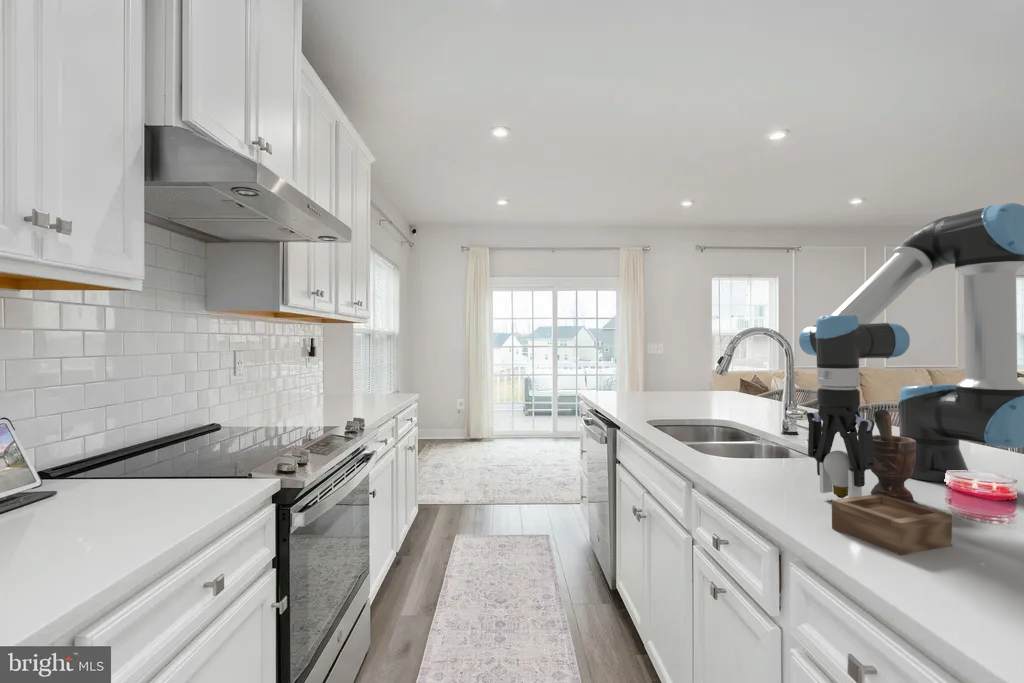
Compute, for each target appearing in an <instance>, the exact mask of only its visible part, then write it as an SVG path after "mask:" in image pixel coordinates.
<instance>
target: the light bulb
mask: <svg viewBox="0 0 1024 683" xmlns="http://www.w3.org/2000/svg"><path fill="white" fill-rule="evenodd" d="M824 468H825V470H826V471H827V473H828V474H829V476H830V478H831V482H832V487H833V492H832V493H833V494H834V495H835V496H836V497H837V498H839V499H844V498H847V497H849V492H848V470H850V469H851V468H852V467H851V464H850V460H849V457H848V453H847V451H843V450H833V451H832V450H831V451H830V453H829V454H827V455H826V457H825V459H824Z"/></svg>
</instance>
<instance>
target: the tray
mask: <svg viewBox="0 0 1024 683" xmlns="http://www.w3.org/2000/svg"><path fill="white" fill-rule="evenodd" d="M952 516H953V515H952V514H950V513H946V512H943V511H940V510H937V509H932V508H930V507H926V506H923V505H919V504H916V503H913V502H906V501H902V500H899V499H896V498H892V497H889V496H885V495H882V494H873V495H871V494H867V495H862V496H859V497H851V498H849V497H844V498H839V499H832V500H831V529H833V530H835V531H838V532H839V533H843V534H844V535H845V534H846V535H848V536H850V537H853V538H856V539H858V540H860V541H863V542H866V543H868V544H871V545H873V546H875V547H877V548H878V547H879V548H880V549H883V550H886V551H888V552H891V553H893V554H896V555H899V556H905V555H910V554H917V553H921V552H927V551H931V550H936V548H937V549H941V548H942V547H943V548H947V547H951V546H953V532H952V531H953V523H952V520H953V517H952Z"/></svg>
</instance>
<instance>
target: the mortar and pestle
mask: <svg viewBox="0 0 1024 683" xmlns="http://www.w3.org/2000/svg"><path fill="white" fill-rule="evenodd" d="M873 418H874V423H875V425H876V427H877V429H878V432H879V434H873V447H874V460H875V468H874V469H870V471H871V472H872V474H874V475H875V476H876V477H877V479H878V480H877V481H878V482H877V483H876V484H875V485H874V486H873V488H872V489H871V491H870V495H873V494H882V495H885V496H889V497H892V498H896V499H899V500H902V501H906V502H909V503H912V502H913V501H914V496H913V493H912V492H911V491H910V490H909V489H907V487H906V486H905V482H906V481H908V479H910V478H911V475H912V473H913V471H914V467H915V461H916V441H915V440H914V439H912V438H909V437H901V436H900V435H893V430H892V429H893V428H892V427H893V426H892V425H893V424H892V417H891V414H890V412H889V411H888V410H886V409H877V410H876V411H874V413H873Z"/></svg>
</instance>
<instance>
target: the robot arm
mask: <svg viewBox="0 0 1024 683" xmlns="http://www.w3.org/2000/svg"><path fill="white" fill-rule="evenodd" d="M952 264H954V270H955V271H957V272H958V273H959V274H961V275H962V276H963V312H964V313H963V316H964V317H963V320H964V322H963V323H964V324H963V326H964V327H963V329H964V331H963V332H964V338H963V339H964V342H963V343H964V378H963V379H962V380H961V381H959V382H957V383H956V384H933V385H930V384H929V385H907V386H904V387H902V388H901V389H900V390H899V397H898V398H899V400H898V416H899V417H898V422H899V423H898V425H899V426H898V427H899V436H901V437H909V438H912V439H914V440H915V441H916V461H915V467H914V471H913V473H912V475H911V477H910V478H911V479H915V480H916V479H917V480H921V481H922V480H923V481H929V482H936V483H945V482H944V479H945V473H946V471H947V470H969V468H968V466H967V464H966V461H965V459H964V457H963V454H962V452H961V449H960V441H966V442H971V443H972V442H973V443H977V444H982V445H988V446H991V447H994V448H997V447H999V448H1007V449H1008V448H1009V449H1019V448H1022V447H1024V384H1023V382H1020V381H1019V379H1018V333H1017V332H1018V331H1017V329H1018V321H1017V320H1018V318H1017V315H1018V313H1017V305H1018V304H1017V272H1018V271H1019V270H1020V269H1021V268H1022V267H1024V205H1022V204H1020V203H1016V202H1008V203H1002V204H996V205H995V204H994V205H988V206H986V207H982V208H978V209H973V210H970V211H965V212H962V213H958V214H953V215H949V216H948V215H947V216H943V217H940V218H937V219H935V220H933V221H931V222H929V223H927V224H925V225H923V226H922V227H921V228H919V229H917V230H916V231H915V232H913V233H912V234H910V235H909V236H908V237H907V238H905V239H904V240H902V241H901V243H899V244H898V245H897V246H896V247H895V248H894V249H893V250H892V251H891V252H890V253H889V255H888V260H887V261H886V262H885V263H884V264H883V265H882V266H881V267H880V268H879V269H877V271H876V272H875V273H873V275H872V276H871V277H869V278H868V279H867V280H866V281H865V282H864V283H863V284H862V285H860V287H859V288H857V290H855V291H854V293H852V294H851V295H850V296H849V297H848V298H847V299H846V300H845V301H844V302H842V303H841V305H840V306H839V307H837V308H836V309H835V311H834V312H832V313H831V314H830V315H821V316H819V317H817V319H816V322H815V323H816V324H815V325H812V326H811V325H810V326H807V327H805V328H804V329H802V330H801V332H800V334H799V337H798V343H799V346H800V348H801V350H802V351H803V352H804V353H805V354H807V355H809V356H816V380H817V381H816V382H817V383H816V385H817V386H819V387H818V389H817V390H816V392H817V393H816V394H817V396H816V397H817V401H816V402H817V404H818V406H819V408H818V411H814V412H812V411H811V412H807V413H806V418H807V422H808V432H807V433H808V434H807V435H808V436H807V437H808V438H807V454H808V457H810V458H813V459H815V461H816V468H817V469H816V474H817V476H819V492H820V493H822V494H826V493H827V494H828V493H834V492H833V484H832V482H831V478H830V476H829V474H828V473H827V471H826V470H825V468H824V459H825V457H826V455H827V454H829V453H830V452H832V447H833V443H834V440H835V437H836V434H837V433H839V435H840V438H842V440H843V443H844V446H845V449H846V452H847V453H848V457H849V460H850V464H851V467H852V468H851V469H850V470H848V498H851V497H859V496H863V489H862V487H864V486H865V484H866V482H865V481H866V480H865V478H866V477H865V472H866V471H867V470H868V471H869V470H871V469H874V468H875V460H874V447H873V435H874V434H873V431H874V427H875V425H876V423H875V420H873V419H869V420H868V419H865V418H863V417H861V415H860V413H859V407H860V405H861V396H860V393H861V392H860V390H859V389H858V387H860V385H861V380H860V360H861V359H887V360H888V359H890V358H896V357H900V356H903V354H905V353H906V352H907V350H909V348H910V346H911V345H910V343H911V339H910V334H909V332H908V330H907V329H906V328H905V327H904V326H902V325H901V324H898V323H889V322H882V323H881V322H880V323H872V322H873V321H875V320H876V319H877V317H878V316H880V315H881V313H882V312H884V311H885V310H886V309H887V308H888V307H889V306H891V304H892V303H893V302H894V301H895V300H896V299H897V298H898V297H900V295H901V294H903V293H904V292H905V291H906V290H907V289H908V288H909V287H910V286H911V285H912V284H913V283H914V282H915V281H916V280H918V279H921V278H925V277H926V276H928V275H929V274H930V273H932V271H933V270H936V269H938V268H940V267H944V266H948V265H952Z"/></svg>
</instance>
